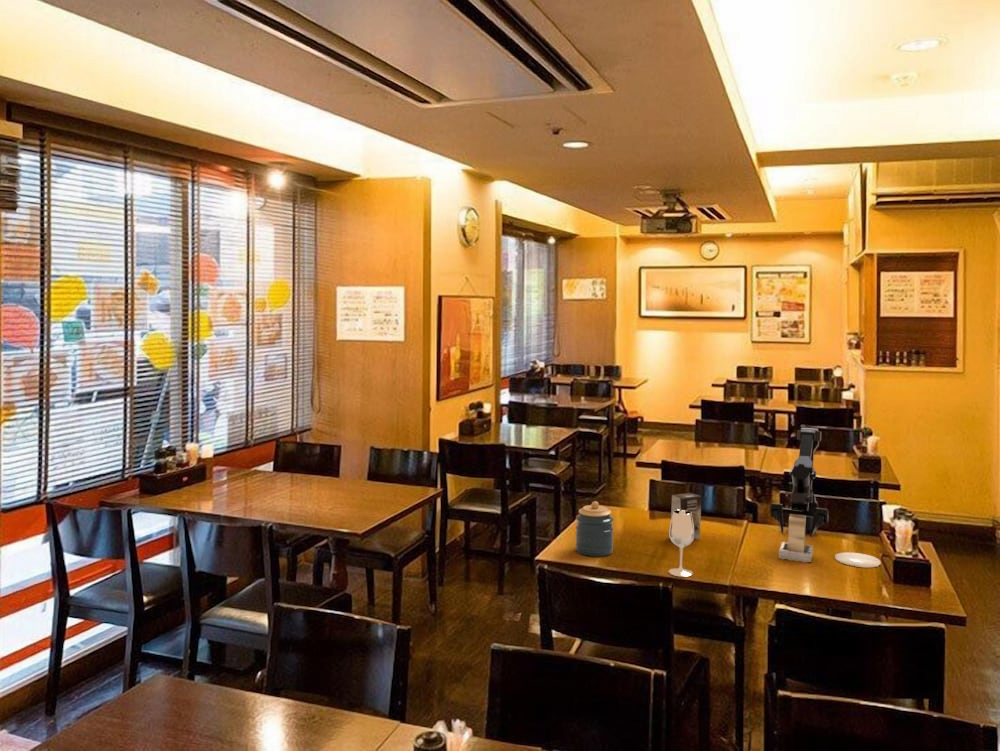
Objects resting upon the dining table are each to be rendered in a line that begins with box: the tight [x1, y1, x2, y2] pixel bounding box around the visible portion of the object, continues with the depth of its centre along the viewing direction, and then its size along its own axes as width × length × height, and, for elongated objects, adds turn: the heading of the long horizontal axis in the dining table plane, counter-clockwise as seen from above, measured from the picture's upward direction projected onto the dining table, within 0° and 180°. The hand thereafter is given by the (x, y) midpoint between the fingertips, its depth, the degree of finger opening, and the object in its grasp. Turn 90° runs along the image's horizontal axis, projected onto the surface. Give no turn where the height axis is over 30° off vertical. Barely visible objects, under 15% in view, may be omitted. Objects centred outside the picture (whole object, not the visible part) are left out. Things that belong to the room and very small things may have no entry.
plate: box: [834, 551, 882, 569], centre depth 268 cm, size 14×14×1 cm
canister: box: [575, 500, 615, 557], centre depth 276 cm, size 13×13×18 cm
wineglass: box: [668, 510, 694, 578], centre depth 254 cm, size 8×8×20 cm
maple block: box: [787, 514, 806, 552], centre depth 271 cm, size 5×5×14 cm
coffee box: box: [670, 492, 702, 541], centre depth 292 cm, size 9×6×16 cm
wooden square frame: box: [778, 541, 814, 563], centre depth 272 cm, size 10×10×3 cm
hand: (796, 534), depth 270 cm, fingers open, 9 cm apart
